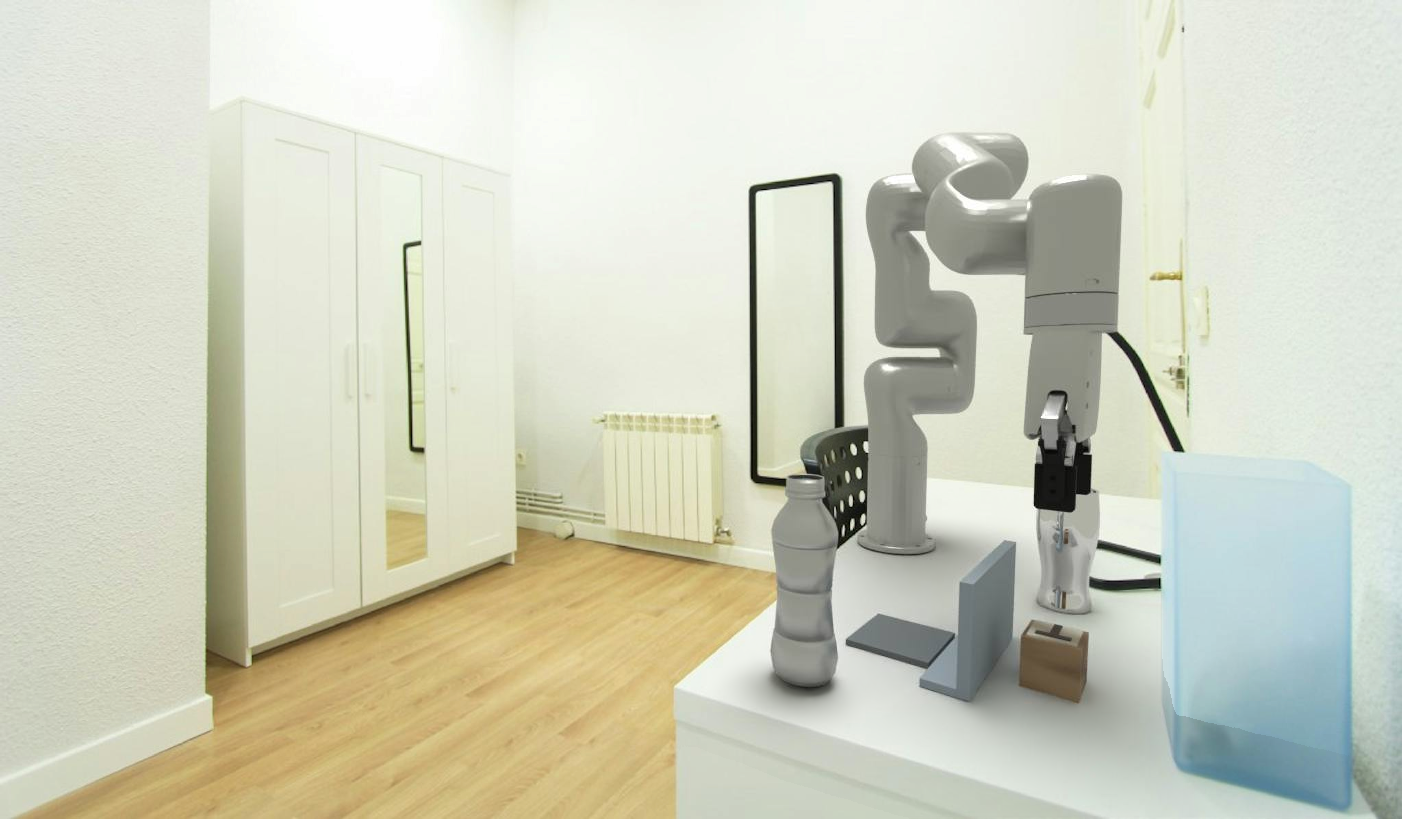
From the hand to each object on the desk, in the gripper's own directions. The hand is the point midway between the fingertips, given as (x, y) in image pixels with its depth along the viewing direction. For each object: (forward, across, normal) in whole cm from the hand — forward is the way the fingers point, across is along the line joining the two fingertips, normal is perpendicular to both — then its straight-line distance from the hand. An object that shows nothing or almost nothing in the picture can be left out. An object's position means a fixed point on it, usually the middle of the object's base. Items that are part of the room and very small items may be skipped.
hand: (1063, 501), depth 60 cm
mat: (+18, -1, -16) cm, 24 cm away
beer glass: (+18, -24, -3) cm, 30 cm away
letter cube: (+18, -1, 0) cm, 18 cm away
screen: (+18, -1, -8) cm, 20 cm away
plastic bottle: (+18, +13, -20) cm, 30 cm away
